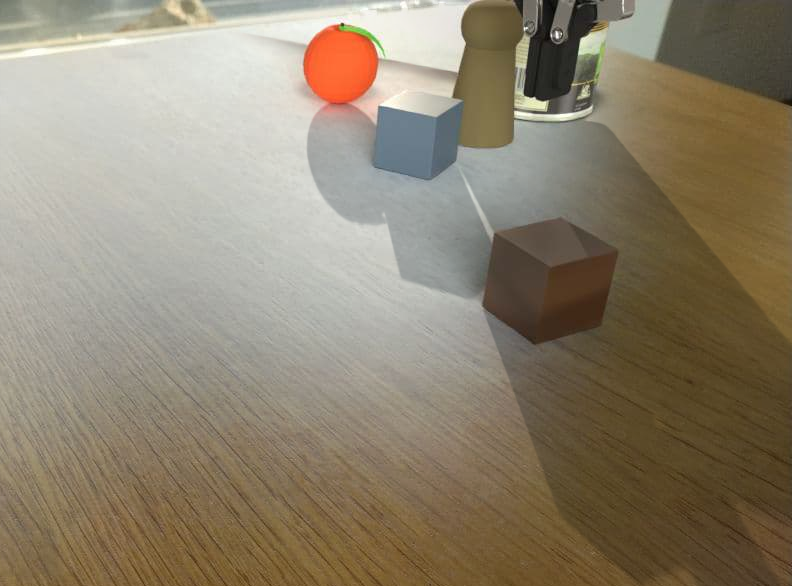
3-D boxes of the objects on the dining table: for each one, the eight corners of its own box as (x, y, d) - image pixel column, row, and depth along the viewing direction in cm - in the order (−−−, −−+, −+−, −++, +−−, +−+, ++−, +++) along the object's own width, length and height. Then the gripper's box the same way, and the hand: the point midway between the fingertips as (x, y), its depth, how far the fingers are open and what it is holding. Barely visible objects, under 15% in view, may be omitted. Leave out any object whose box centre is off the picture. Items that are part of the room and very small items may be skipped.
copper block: (601, 326, 58) (619, 249, 55) (534, 345, 57) (550, 267, 54) (545, 289, 62) (560, 216, 59) (481, 306, 60) (493, 231, 57)
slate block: (456, 161, 80) (464, 100, 77) (429, 180, 77) (436, 117, 74) (401, 148, 82) (407, 88, 79) (373, 166, 79) (377, 105, 76)
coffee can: (586, 90, 95) (617, -69, 87) (599, 126, 87) (636, -46, 79) (478, 84, 97) (499, -73, 89) (481, 119, 88) (505, -51, 80)
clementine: (397, 99, 93) (404, 21, 89) (366, 120, 88) (372, 38, 84) (322, 86, 96) (326, 9, 92) (288, 105, 91) (290, 26, 87)
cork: (457, 119, 88) (474, -11, 82) (522, 131, 86) (545, -2, 79) (431, 139, 84) (447, 4, 78) (499, 153, 82) (521, 14, 75)
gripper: (744, -211, 55) (671, 111, 66) (537, -219, 65) (502, 62, 76) (662, -203, 52) (599, 136, 62) (457, -212, 62) (432, 81, 72)
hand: (546, 94), depth 69 cm, fingers closed
